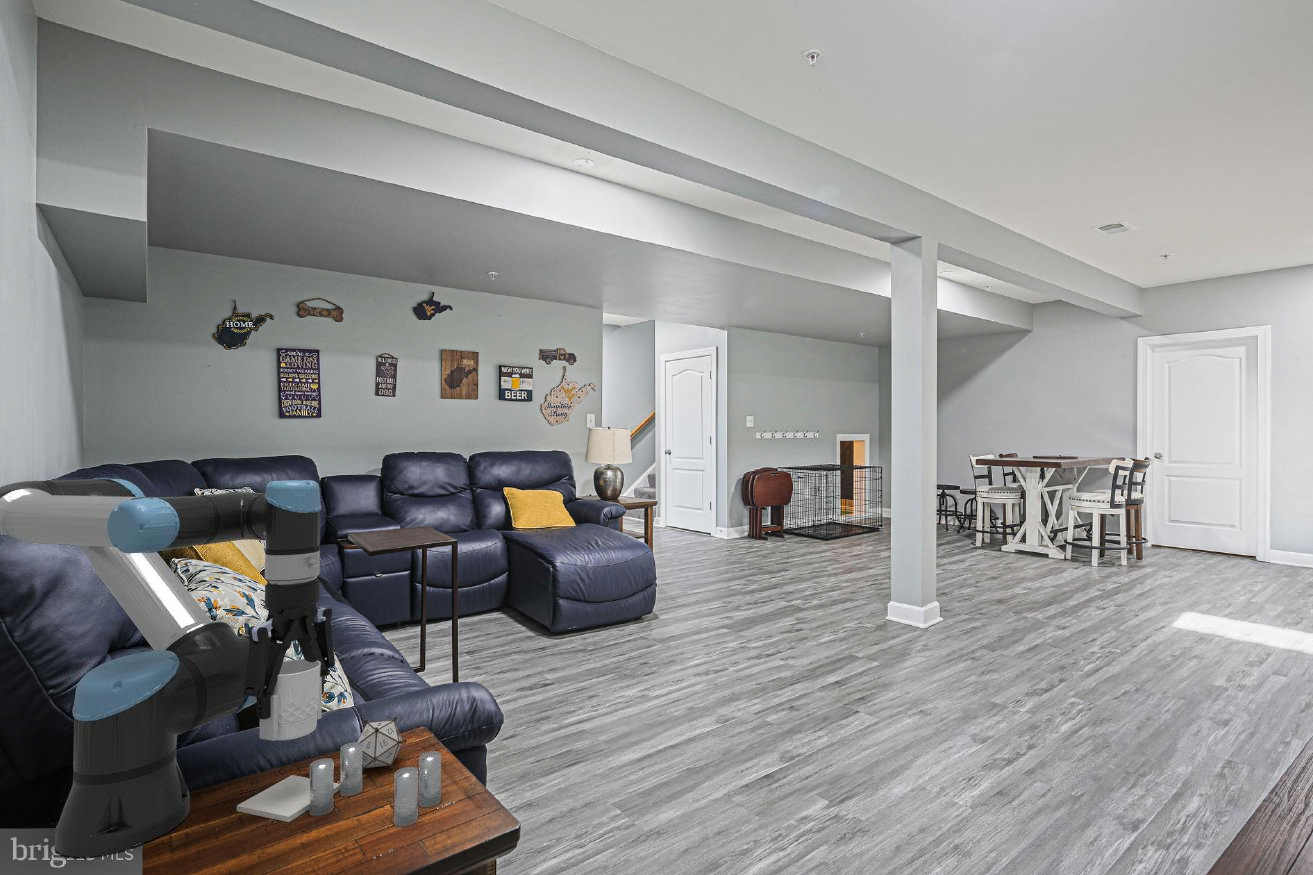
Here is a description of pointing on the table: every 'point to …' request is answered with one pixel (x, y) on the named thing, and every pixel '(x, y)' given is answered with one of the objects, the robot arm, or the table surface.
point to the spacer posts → (353, 783)
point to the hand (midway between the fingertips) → (291, 727)
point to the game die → (380, 743)
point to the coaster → (282, 799)
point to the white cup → (297, 698)
